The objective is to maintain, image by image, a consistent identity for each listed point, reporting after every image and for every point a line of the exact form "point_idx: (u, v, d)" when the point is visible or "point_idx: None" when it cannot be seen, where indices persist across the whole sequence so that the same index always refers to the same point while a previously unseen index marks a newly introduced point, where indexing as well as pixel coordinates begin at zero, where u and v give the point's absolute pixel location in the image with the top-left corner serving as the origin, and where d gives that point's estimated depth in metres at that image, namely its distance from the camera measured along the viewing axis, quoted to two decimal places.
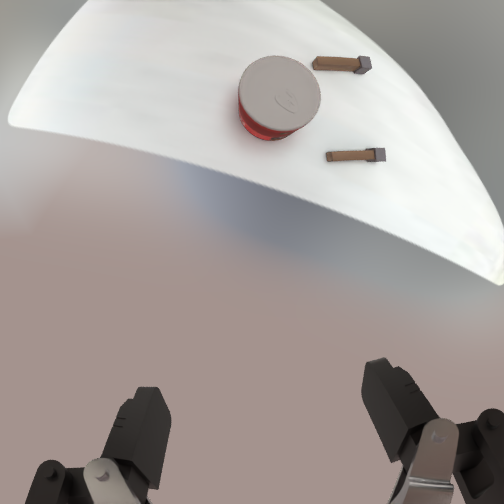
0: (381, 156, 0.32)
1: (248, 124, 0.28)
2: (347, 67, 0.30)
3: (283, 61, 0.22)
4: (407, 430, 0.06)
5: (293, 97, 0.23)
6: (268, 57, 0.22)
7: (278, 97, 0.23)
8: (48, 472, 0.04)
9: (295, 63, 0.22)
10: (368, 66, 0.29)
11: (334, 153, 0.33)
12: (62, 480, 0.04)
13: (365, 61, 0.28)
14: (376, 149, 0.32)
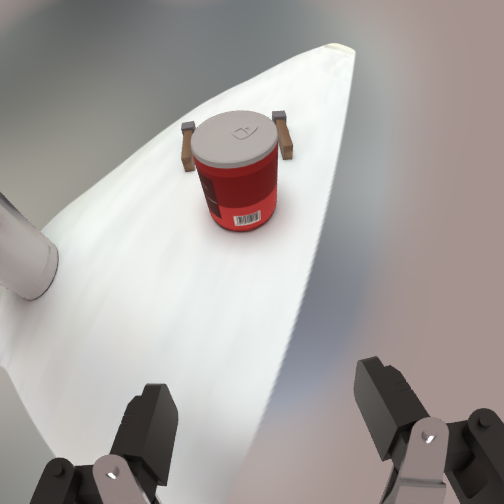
0: (280, 113, 0.37)
1: (264, 193, 0.27)
2: None
3: (198, 134, 0.24)
4: (396, 428, 0.06)
5: (240, 127, 0.24)
6: (192, 143, 0.23)
7: (240, 136, 0.23)
8: (57, 470, 0.04)
9: (201, 126, 0.24)
10: (192, 123, 0.37)
11: (285, 144, 0.34)
12: (71, 478, 0.05)
13: (187, 125, 0.37)
14: (275, 116, 0.36)
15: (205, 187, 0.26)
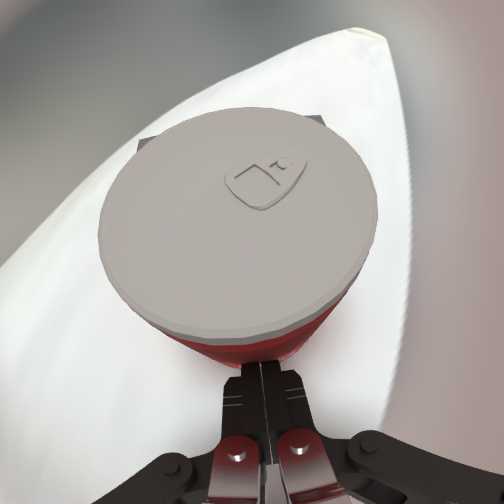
0: None
1: (313, 332, 0.10)
2: None
3: (124, 189, 0.08)
4: None
5: (252, 162, 0.08)
6: (101, 230, 0.07)
7: (255, 197, 0.07)
8: (169, 468, 0.05)
9: (137, 160, 0.08)
10: None
11: None
12: (188, 473, 0.05)
13: None
14: None
15: None
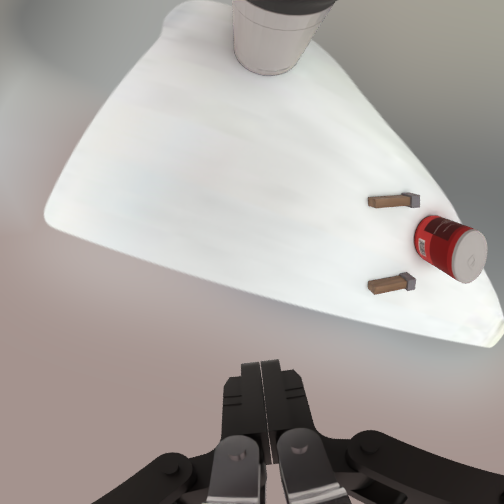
0: (411, 286, 0.39)
1: (435, 264, 0.35)
2: None
3: (476, 234, 0.29)
4: (269, 432, 0.07)
5: (475, 259, 0.30)
6: (470, 232, 0.28)
7: (469, 261, 0.30)
8: (169, 468, 0.05)
9: (481, 235, 0.29)
10: (417, 206, 0.35)
11: (376, 288, 0.39)
12: (188, 473, 0.05)
13: (415, 201, 0.35)
14: (409, 281, 0.39)
15: (444, 230, 0.33)
